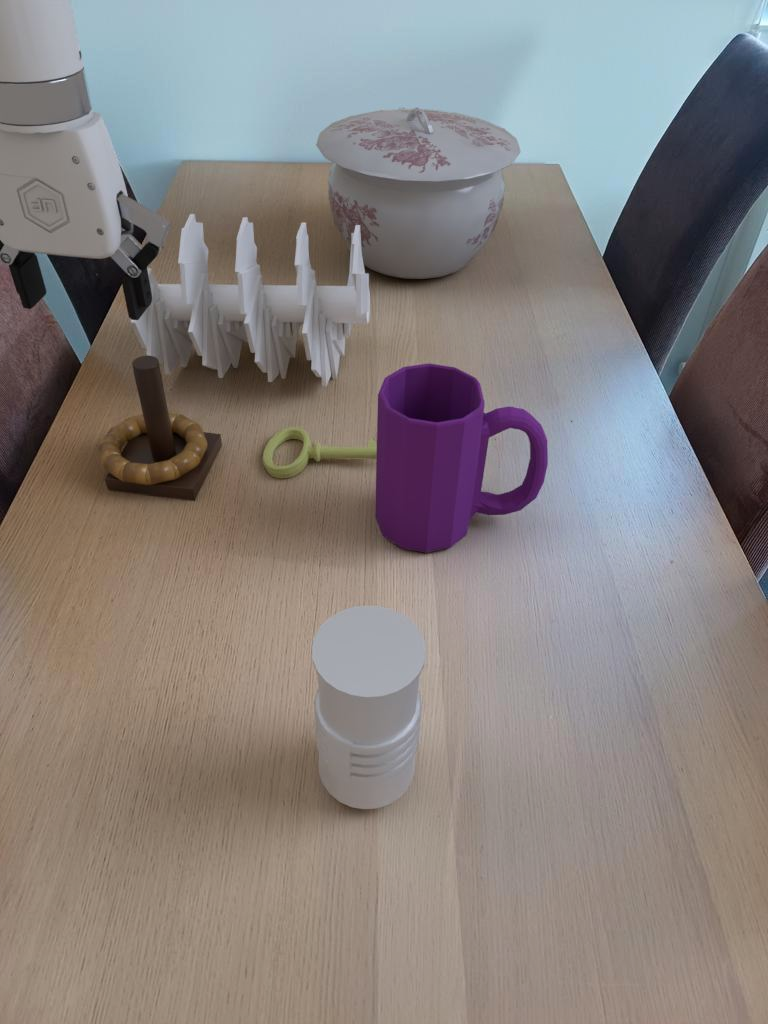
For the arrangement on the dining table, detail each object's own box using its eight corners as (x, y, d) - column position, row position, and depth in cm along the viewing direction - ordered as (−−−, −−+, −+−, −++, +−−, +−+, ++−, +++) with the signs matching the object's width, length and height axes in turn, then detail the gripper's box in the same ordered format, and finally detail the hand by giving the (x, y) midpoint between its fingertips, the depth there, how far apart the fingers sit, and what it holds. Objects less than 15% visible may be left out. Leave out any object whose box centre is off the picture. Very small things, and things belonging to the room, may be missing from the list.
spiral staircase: (181, 370, 103) (375, 374, 101) (128, 390, 86) (360, 395, 84) (171, 218, 98) (376, 220, 96) (113, 209, 81) (360, 210, 79)
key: (385, 467, 83) (385, 451, 82) (265, 482, 81) (264, 465, 80) (371, 427, 88) (371, 410, 87) (259, 439, 86) (257, 423, 85)
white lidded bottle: (298, 793, 57) (286, 664, 46) (352, 721, 61) (352, 588, 51) (381, 844, 54) (387, 719, 44) (431, 765, 58) (447, 634, 48)
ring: (84, 481, 78) (80, 465, 77) (125, 419, 86) (121, 404, 85) (188, 493, 77) (185, 478, 76) (220, 429, 85) (217, 414, 84)
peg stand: (107, 490, 80) (77, 383, 71) (141, 435, 86) (117, 332, 78) (195, 500, 79) (175, 394, 70) (222, 445, 85) (207, 341, 77)
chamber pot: (450, 323, 105) (464, 160, 91) (282, 269, 116) (272, 115, 102) (536, 246, 123) (559, 100, 109) (384, 206, 133) (387, 67, 119)
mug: (373, 490, 81) (376, 362, 70) (526, 489, 81) (551, 361, 71) (376, 556, 74) (380, 425, 64) (543, 554, 75) (573, 423, 64)
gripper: (-103, 102, 57) (-27, 318, 69) (129, 121, 56) (167, 338, 67) (-46, 74, 63) (15, 278, 75) (166, 91, 61) (195, 296, 73)
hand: (87, 306), depth 71 cm, fingers open, 9 cm apart
